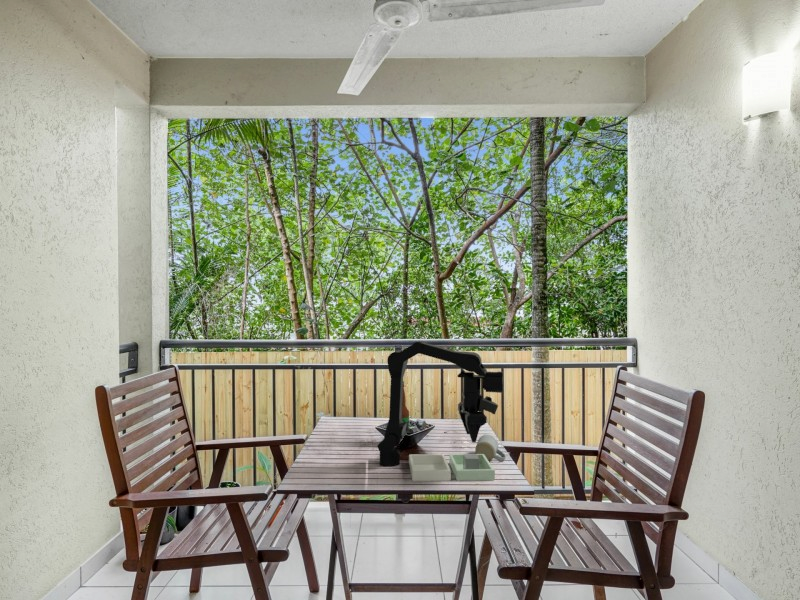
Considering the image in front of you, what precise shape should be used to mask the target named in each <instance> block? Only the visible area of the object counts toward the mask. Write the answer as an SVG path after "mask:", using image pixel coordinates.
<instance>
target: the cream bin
mask: <svg viewBox="0 0 800 600" xmlns="http://www.w3.org/2000/svg"><path fill="white" fill-rule="evenodd" d="M408 465H409V469H410V475H411V479H412V482H451V481H452V476H451V475H452V473H451V472H452V471H451V470H452V469H451V467H450V464H449V463H448V461H447V458H446V457H445V454H443V453H440V454H439V453H438V454H437V453H436V454H435V453H434V454H432V453H431V454H429V453H425V454H424V453H421V454H412V453H411V454H409V455H408Z"/></svg>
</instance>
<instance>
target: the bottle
mask: <svg viewBox="0 0 800 600" xmlns="http://www.w3.org/2000/svg"><path fill="white" fill-rule="evenodd" d="M402 421H403V423H407V426H406V431H407V430H408V429H409V430H410V411H409V409H408V407H407V406H406V393H405V381H404V380H403V395H402Z"/></svg>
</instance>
